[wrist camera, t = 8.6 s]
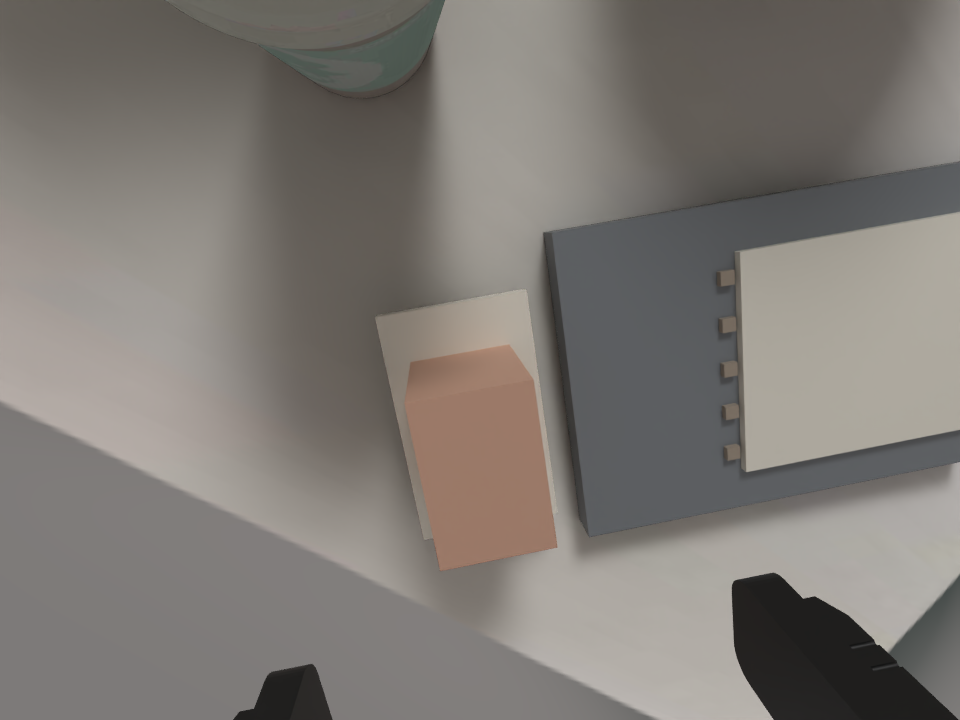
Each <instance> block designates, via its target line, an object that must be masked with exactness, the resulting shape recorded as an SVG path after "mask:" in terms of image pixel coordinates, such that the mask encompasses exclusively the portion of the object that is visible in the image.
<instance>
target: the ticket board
mask: <svg viewBox="0 0 960 720" xmlns="http://www.w3.org/2000/svg"><path fill="white" fill-rule="evenodd" d="M544 239H545V247H546V255H547V263H548V271H549V278H550V286H551V294H552V302H553V310H554V318H555V326H556V334H557V342H558V350H559V358H560V366H561V373H562V381H563V389H564V397H565V405H566V413H567V421H568V429H569V437H570V445H571V453H572V461H573V468H574V476H575V484H576V492H577V500H578V508H579V516H580V521H581V523H582V524H583V526H584V528H585V530H586V532H587V534H588V536H589V537H592V536H597V535H602V534H607V533H612V532H617V531H622V530H627V529H632V528H637V527H641V526H646V525H651V524H656V523H661V522H666V521H671V520H676V519H681V518H686V517H691V516H696V515H701V514H706V513H711V512H715V511H720V510H725V509H730V508H735V507H740V506H745V505H750V504H755V503H760V502H765V501H770V500H775V499H780V498H785V497H789V496H794V495H799V494H804V493H809V492H814V491H819V490H824V489H829V488H834V487H839V486H844V485H849V484H854V483H859V482H863V481H868V480H873V479H878V478H883V477H888V476H893V475H898V474H903V473H908V472H913V471H918V470H923V469H928V468H933V467H937V466H942V465H947V464H952V463H957V462H960V161H959V162H953V163H947V164H942V165H936V166H930V167H924V168H918V169H912V170H906V171H901V172H895V173H889V174H883V175H877V176H871V177H866V178H860V179H854V180H848V181H842V182H836V183H830V184H825V185H819V186H813V187H807V188H801V189H795V190H790V191H784V192H778V193H772V194H766V195H760V196H754V197H749V198H743V199H737V200H731V201H725V202H719V203H714V204H708V205H702V206H696V207H690V208H684V209H678V210H673V211H667V212H661V213H655V214H649V215H643V216H637V217H632V218H626V219H620V220H614V221H608V222H602V223H597V224H591V225H585V226H579V227H573V228H567V229H561V230H556V231H550V232H544Z"/></svg>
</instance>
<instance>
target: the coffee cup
mask: <svg viewBox="0 0 960 720" xmlns="http://www.w3.org/2000/svg"><path fill="white" fill-rule="evenodd" d="M165 1H167V2H168V3H170V4H171V5H172V6H174V7H175V8H177V9H178V10H180V11H182V12H183V13H185V14H186V15H188V16H190V17H192V18H193V19H195V20H197V21H199V22H201V23H203V24H205V25H207V26H209V27H211V28H213V29H215V30H218V31H220V32H222V33H225V34H227V35H230V36H233V37H236V38H239V39H242V40H245V41H249V42H253V43H256V44H258V45H259V46H261V47H262V48H264V49H265V50H267V51H268V52H270V53H271V54H273V55H274V56H276V57H277V58H279V59H280V60H282V61H283V62H285V63H286V64H288V65H289V66H291V67H292V68H294V69H295V70H297V71H298V72H300V73H301V74H303V75H304V76H306V77H307V78H309V79H310V80H312V81H313V82H315V83H317V84H318V85H320V86H321V87H323V88H325V89H327V90H329V91H331V92H333V93H336V94H339V95H342V96H346V97H351V98H371V97H377V96H381V95H384V94H387V93H389V92H391V91H393V90H395V89H397V88H398V87H400V86H401V85H403V84H404V83H405V82H406V81H408V80H409V79H410V78H411V77H412V76H413V74H414V73H415V72H416V71H417V69H418V68H419V67H420V65H421V63H422V62H423V60H424V58H425V56H426V53H427V51H428V48H429V46H430V43H431V40H432V37H433V35H434V32H435V29H436V26H437V23H438V20H439V17H440V14H441V11H442V8H443V5H444V2H445V0H165Z"/></svg>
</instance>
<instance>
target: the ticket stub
mask: <svg viewBox="0 0 960 720" xmlns="http://www.w3.org/2000/svg"><path fill="white" fill-rule="evenodd" d="M375 321H376V325H377V330H378V334H379V339H380V343H381V348H382V352H383V357H384V361H385V366H386V371H387V375H388V380H389V384H390V389H391V393H392V398H393V402H394V407H395V411H396V416H397V421H398V425H399V430H400V434H401V439H402V443H403V448H404V452H405V457H406V461H407V466H408V471H409V475H410V480H411V484H412V489H413V493H414V498H415V502H416V507H417V511H418V516H419V520H420V525H421V530H422V534H423V539H424V540H429V539H433V540H434V544H435V549H436V554H437V558H438V563H439V568H440V571H444V570H449V569H454V568H459V567H464V566H468V565H473V564H478V563H483V562H488V561H493V560H498V559H503V558H508V557H513V556H518V555H523V554H528V553H532V552H537V551H542V550H547V549H552V548H557V541H556V534H555V526H554V519H553V515H554V514H558V512H557V505H556V498H555V490H554V483H553V476H552V469H551V462H550V454H549V447H548V440H547V433H546V426H545V418H544V411H543V404H542V397H541V390H540V382H539V375H538V368H537V361H536V354H535V346H534V339H533V332H532V325H531V318H530V310H529V303H528V296H527V291H526V290H525V289H521V290H515V291H510V292H504V293H498V294H493V295H487V296H481V297H476V298H470V299H464V300H459V301H453V302H447V303H442V304H436V305H430V306H425V307H419V308H413V309H408V310H402V311H396V312H391V313H385V314H379V315H376V316H375Z"/></svg>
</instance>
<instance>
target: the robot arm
mask: <svg viewBox="0 0 960 720" xmlns="http://www.w3.org/2000/svg"><path fill="white" fill-rule="evenodd" d="M732 607H733V630H734V647H735V652H736V656H737V659H738V662H739V664H740V667H741V669H742V671H743V673H744V676H745V677H746V679H747V681H748V682H749V684H750V686H751V687H752V688H753V690H754V691H755V693H756V694H757V696H758V697H759V699H760V700H761V702H762V703H763V705H764V706H765V708H766V709H767V710H768V712H769V713H770V715H771V716H772V718H773V719H774V720H958V719H957V718H956V717H955V716H954V715H953V714H952V713H951V712H950V711H949V710H948V709H947V708H946V707H945V706H943V705H942V704H941V703H940V702H939V701H938V700H937V699H936V698H935V697H934V696H933V695H932V694H931V693H930V692H929V691H928V690H926V689H925V688H924V687H923V686H922V685H921V684H920V683H919V682H918V681H917V680H916V679H915V678H914V677H913V676H912V675H911V674H910V673H909V672H908V671H906V670H905V669H904V668H903V667H899V666H898V664H897V661H896V660H895V659H894V658H893V657H892V656H891V655H890V654H888V653H887V652H886V651H885V650H884V649H883V648H882V647H881V646H880V645H876V644H875V642H874V639H873V638H872V637H871V636H869V635H868V634H867V633H866V632H865V631H864V630H863V629H862V628H861V627H860V626H859V625H858V624H857V623H856V622H855V621H854V620H853V619H851V618H850V617H849V616H848V615H847V614H845V613H843V612H842V611H840V610H838V609H836V608H835V607H833V606H831V605H829V604H827V603H826V602H824V601H822V600H820V599H819V598H817V597H810V598H805V599H803V598H802V597H801V596H800V595H799V594H798V593H797V592H796V591H795V590H794V589H793V588H792V587H791V586H790V585H789V584H788V583H787V582H786V581H785V580H784V579H783V578H782V577H781V576H779V575H778V574H776V573H769V574H764V575H759V576H754V577H749V578H744V579H739V580H735V581H734V582H733V584H732ZM233 720H332V717H331V714H330V710H329V707H328V704H327V701H326V698H325V694H324V691H323V688H322V685H321V682H320V679H319V675H318V672H317V670H316V668H315V666H314V665H312V664H309V665H304V666H299V667H294V668H289V669H284V670H279V671H274V672H271V673H270V674H269V675H268V676H267V678H266V680H265V682H264V684H263V687H262V689H261V692H260V695H259V697H258V700H257V703H256V705H255V708H254V709H250V710H246V711H240V712H239V713H238V714H237V716H236V717H235V718H234V719H233Z"/></svg>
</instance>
